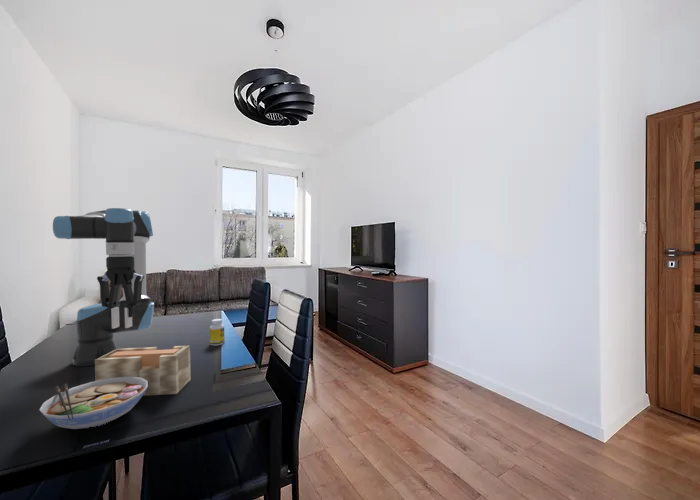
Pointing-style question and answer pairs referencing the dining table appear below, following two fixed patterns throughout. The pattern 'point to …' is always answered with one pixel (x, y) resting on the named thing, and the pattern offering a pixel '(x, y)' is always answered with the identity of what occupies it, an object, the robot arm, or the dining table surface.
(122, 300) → the robot arm
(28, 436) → the dining table surface
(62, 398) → the ramen bowl
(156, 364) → the tan block
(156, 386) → the box
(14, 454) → the dining table surface
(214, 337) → the pill bottle
